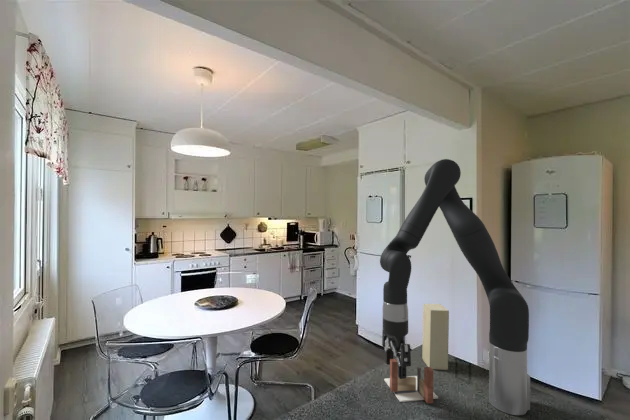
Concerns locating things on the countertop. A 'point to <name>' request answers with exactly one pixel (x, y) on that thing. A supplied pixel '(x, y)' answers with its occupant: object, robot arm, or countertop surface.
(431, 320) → the upright wooden block
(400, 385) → the toy gate half
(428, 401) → the brown piece
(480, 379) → the countertop surface
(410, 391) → the card
